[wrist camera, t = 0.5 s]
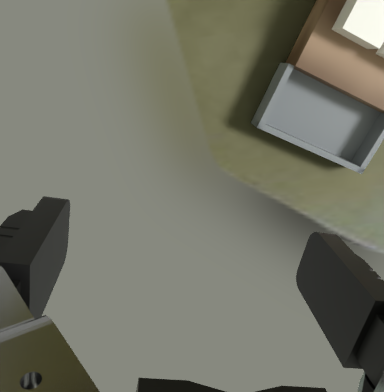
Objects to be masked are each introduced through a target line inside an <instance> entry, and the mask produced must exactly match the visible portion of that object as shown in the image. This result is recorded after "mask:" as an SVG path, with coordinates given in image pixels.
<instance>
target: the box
mask: <svg viewBox="0 0 384 392" xmlns="http://www.w3.org/2000/svg"><path fill="white" fill-rule="evenodd" d="M293 68H294V66H293V65H291V64H289V63H280V64H279V66H278V68H277V70H276V72H275V74H274V76H273V78H272V80H271V82H270V84H269V87H268V89H267V91H266V93H265V95H264V97H263V99H262V101H261V103H260V105H259V107H258V109H257V111H256V113H255V115H254V117H253V119H252V121H251V124H253V125H254V126H255V127H257V128H259V129H261V130H263V131H266V132H268V133H270V134H272V135H275V136H277V137H279V138H281V139H284V140H286V141H288V142H290V143H293V144H295V145H297V146H299V147H302V148H304V149H306V150H308V151H311V152H313V153H315V154H317V155H320V156H322V157H324V158H326V159H329V160H331V161H333V162H335V163H338V164H340V165H342V166H345V167H347V168H349V169H351V170H354V171H356V172H358V173H360V174H362V173H363V171H364V170H365V168H366V167H367V165H368V163H369V162H370V160H371V159H372V157H373V155H374V154H375V152H376V151H377V149H378V147H379V146H380V144H381V143H382V141H383V139H384V113H381V112H379V111H377V110H375V109H373V108H371V107H369V106H367V105H365V104H363V103H361V102H359V101H357V100H355V99H353V98H351V97H349V96H347V95H345V94H343V93H341V92H339V91H337V90H335V89H333V88H331V87H329V86H327V85H325V84H323V83H321V82H319V81H317V80H315V79H313V78H311V77H309V76H307V75H305V74H303V73H301V72H299V71H297V70H295V69H293Z"/></svg>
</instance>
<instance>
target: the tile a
mask: <svg viewBox="0 0 384 392" xmlns="http://www.w3.org/2000/svg"><path fill="white" fill-rule="evenodd" d="M332 30H333V31H335V32H337V33H339V34H341V35H342V36H344V37H346V38H348V39H350V40H351V41H353V42H355V43H357V44H359V45H361V46H362V47H364V48H366V49H380V47H381V46H382V44H383V42H384V0H347V1H346V3H345V5H344V7H343V8H342V10H341V12H340V14H339V16H338V18H337V20H336V22H335V24H334V26H333V28H332Z"/></svg>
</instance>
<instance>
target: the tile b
mask: <svg viewBox="0 0 384 392" xmlns="http://www.w3.org/2000/svg"><path fill="white" fill-rule="evenodd" d="M376 54H377V55H379V56H381V57H382V58H384V42H383V44H382V46H381V47H380V49H378V50H377V52H376Z"/></svg>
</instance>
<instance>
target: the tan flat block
mask: <svg viewBox="0 0 384 392" xmlns="http://www.w3.org/2000/svg"><path fill="white" fill-rule="evenodd" d="M346 1H347V0H316V2H315V4H314V6H313V8H312V10H311V12H310V14H309V16H308V18H307V20H306V22H305V24H304V26H303V28H302V30H301V32H300V34H299V36H298V38H297V40H296V42H295V44H294V46H293V48H292V51H291V53H290V55H289V57H288V59H287V61H286V63H289V64H291V65H293V66H294V68H293V69H295V70H297V71H299V72H301V73H303V74H305V75H307V76H309V77H311V78H313V79H315V80H317V81H319V82H321V83H323V84H325V85H327V86H329V87H331V88H333V89H335V90H337V91H339V92H341V93H343V94H345V95H347V96H349V97H351V98H353V99H355V100H357V101H359V102H361V103H363V104H365V105H367V106H369V107H371V108H373V109H375V110H377V111H379V112H381V113H384V58H382V57H381V56H379V55H377V54H376V52H377V50H378V49H366V48H364V47H362V46H361V45H359V44H357V43H355V42H353V41H351V40H350V39H348V38H346V37H344V36H342V35H341V34H339V33H337V32H335V31H333V30H332V28H333V26H334V24H335V22H336V20H337V18H338V16H339V14H340V12H341V10H342V8H343V7H344V5H345V3H346Z"/></svg>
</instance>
